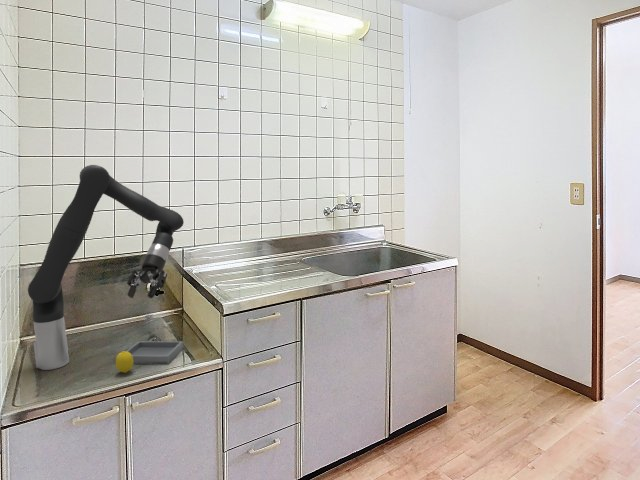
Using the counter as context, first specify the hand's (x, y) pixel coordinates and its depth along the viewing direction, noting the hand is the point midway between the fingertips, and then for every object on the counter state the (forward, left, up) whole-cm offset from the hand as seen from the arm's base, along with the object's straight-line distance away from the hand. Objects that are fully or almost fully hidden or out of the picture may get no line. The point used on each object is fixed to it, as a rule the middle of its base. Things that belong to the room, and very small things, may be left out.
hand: (139, 297), depth 151 cm
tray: (+1, +4, -24) cm, 24 cm away
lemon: (-2, -10, -24) cm, 26 cm away
